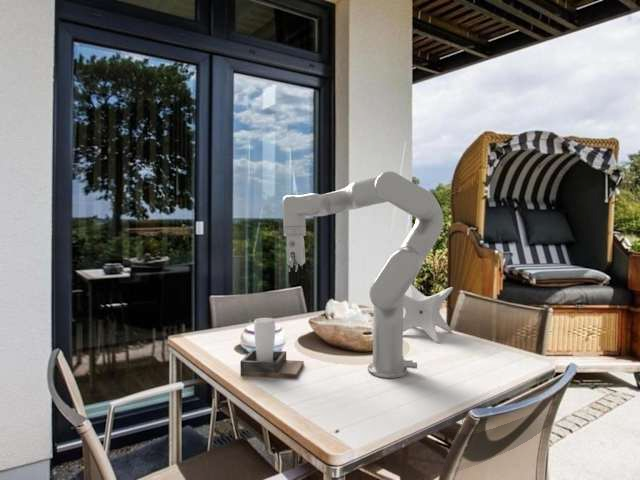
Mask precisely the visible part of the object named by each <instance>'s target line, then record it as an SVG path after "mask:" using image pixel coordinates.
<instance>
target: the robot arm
mask: <svg viewBox="0 0 640 480" xmlns="http://www.w3.org/2000/svg"><path fill="white" fill-rule="evenodd" d="M384 203H389V204H392V205H393V206H395V207H396V208H398V209H400V210H402V211H404V212H405V213H407V214H408V215H411V216H412V217H414V218H415V223H414V225H413V226H412V228H411V230H410V231H409V233H408V234H407V236H406V237H405V238H404V241H403V242H402V244H401V245H400V247H399V248H398V249H397V250H395V251H394V252H393V253H392V254H391V256H390V257H389V258H388V259H387V261H386V262H385V265H384V266H383V268H382V269H381V270H380V272H379V273H378V276H376V278H375V279H374V282H373V283H372V284H371V286H370V289H369V298H370V302H371V303H372V305H373V317H372V318H373V321H372V323H373V325H372V326H373V327H372V333H373V334H372V362H371V363H369V365H368V367H367V371H368V373H370V375H373V376H376V377H379V378H385V379H396V378H401V377H404V376H406V375H407V374H408V369H416V370H417V369H418V362H417V361H416V362H415V361H414V360H410V359H409V360H406V359H404V358H405V357H404V355H403V354H404V353H403V351H404V350H403V349H404V347H403V346H404V339H403V338H404V332H403V318H404V310H405V308H404V294H405V295H406V292H407V291H408V290H409V287H410V285H411V284H412V285H413V283H414V281H415V279H416V278H417V277H418V275H419V273H420V271H421V269H422V267H423V263H424V262H425V260H426V259H427V257H428V256H429V254H430V252H431V251H432V250H433V248H434V246H435V244H436V243H437V241H438V239H439V238H440V235H441V233H442V231H443V227H444V213H443V210H442V208H441V206H440V203H439V201H438V199H437V197H436V196H435V195H434V194H433V193H432V192H431V191H429V190H427V189H426V188H423V187H422V186H419V185H418V184H416V183H414V182H413V181H411V180H409V179H407V178H405V177H404V176H402V175H400V174H399V173H397V172H395V171H393V170H392V171H391V170H390V171H389V170H388V171H384V172H382V173H380V174H379V175H378V176H374V177H370V178H367V179H362V180H358V181H354V182H352V183H350V184H348V185H347V186H346V187H344V188H342V189H338V190H336V191H331V192H327V193H323V194H321V193H320V194H319V193H307V194H301V195H299V194H294V195H292V194H291V195H285V196H283V197H282V215H283V216H282V217H283V218H282V221H283V237H286V262H287V265H288V284H289V285H298V284H299V281H303V280H304V268H303V265H304V264H305V263H306V251H305V250H306V249H305V239H304V237H306V236H307V232H306V231H307V229H306V228H307V227H306V217H325V216H328V215H329V216H330V215H334V214H338V213H343V212H347V211H350V210H351V211H352V210H353V211H354V210H358V209H361V208H367V207H369V206H375V205H379V204H384Z"/></svg>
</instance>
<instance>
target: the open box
mask: <svg viewBox="0 0 640 480" xmlns="http://www.w3.org/2000/svg"><path fill="white" fill-rule="evenodd" d="M304 364H305V363H304V360H290V359H287V351H285V350H284V351H282V350H274V352H273V362H262V361H257V358H256V349H251V350H250V351H249V352H248V354H246V355H245V356H243V358H241V360H240V376H243V377H244V376H245V377H258V378H259V377H261V378H262V377H263V378H277V379H280V378H281V379H293V380H294V379H295V380H296V379H297V378H298V376H299V375H300V373H301V371H302V369H303V368H304Z"/></svg>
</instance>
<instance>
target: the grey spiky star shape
mask: <svg viewBox="0 0 640 480" xmlns="http://www.w3.org/2000/svg"><path fill="white" fill-rule="evenodd" d="M453 289H454V287H453V286H451V287H448V288H446V289H443V290H442V291H439V292H437V293H435V294H432V295H430V296H429V295H427V296H426V295H424V294H423V293H421V292H420V291H419V290H418V288H416V287H415V286H414V285H413V283H412V284H411V285H410V287H409V288H408V290H409V292H410V296H409V295H407V294H406V293H405V294H404V311H405V314H404V315H403V333H405V332H406V331H408V330H411V329H413V328H421V329H422V330H423V331H425V333H426V334H427V335H428V336H429V337H430V338H431V340H432V341H434V343H436V344H440V340H439V337H438V333H437V330H436V327H438V328H440V329H442V330H444V331H446V332H448V333H453V331H452V328H451V327H450V326H449V325H448V323H447V322H446V320H445V319H444V318H443V316H442V314H441V313H440V309H441V306H442V305H443V303H444V301H446V299H447V298H448V296H449V295H450V294H451V292H452V291H453Z"/></svg>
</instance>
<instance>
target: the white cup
mask: <svg viewBox="0 0 640 480" xmlns="http://www.w3.org/2000/svg"><path fill="white" fill-rule="evenodd" d="M253 321H254V324H253V325H254V326H253V328H254V330H253V331H254V332H253V333H254V334H253V335H254V344H255V346H254V347H255V350H256V358H257V361H262V362H273V352H274V351H275V350H274V349H275V338H276V320H275V318H272V317H259V318H255V319H254V320H253Z"/></svg>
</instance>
